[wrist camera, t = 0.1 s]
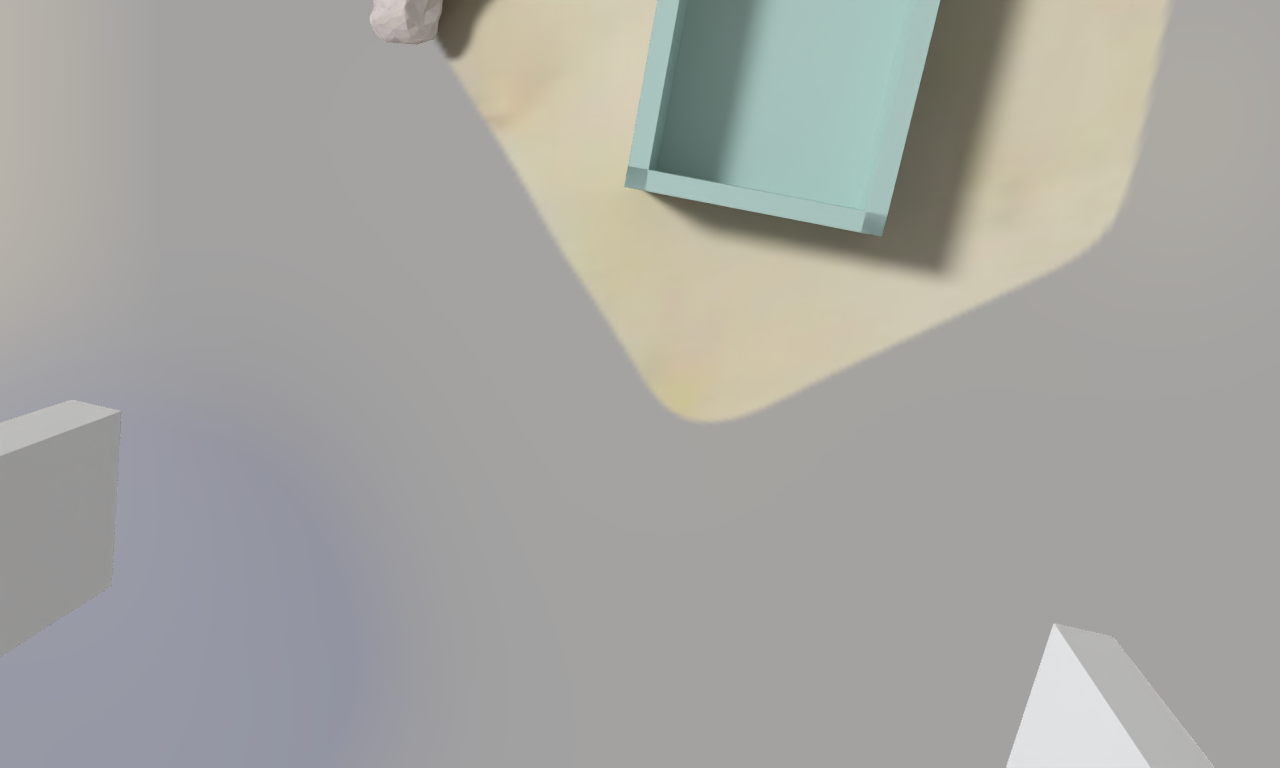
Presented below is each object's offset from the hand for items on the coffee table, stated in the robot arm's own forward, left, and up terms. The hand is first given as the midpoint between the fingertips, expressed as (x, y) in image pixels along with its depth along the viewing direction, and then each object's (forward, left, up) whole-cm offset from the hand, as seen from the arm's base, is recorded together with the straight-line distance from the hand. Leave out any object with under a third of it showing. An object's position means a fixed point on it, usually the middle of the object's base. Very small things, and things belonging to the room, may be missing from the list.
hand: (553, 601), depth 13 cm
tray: (-11, +2, -28) cm, 30 cm away
